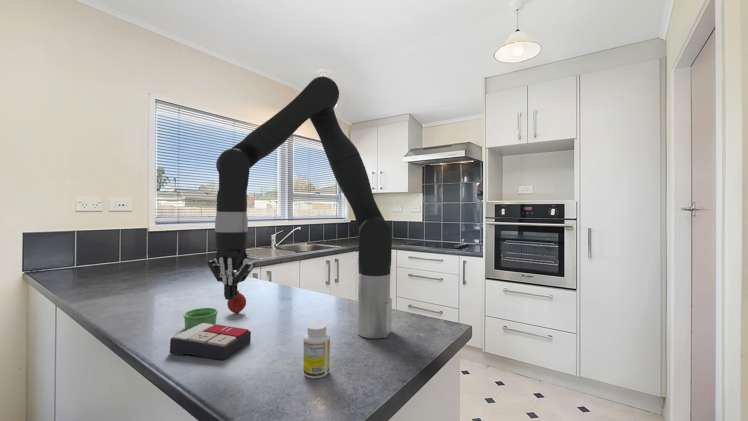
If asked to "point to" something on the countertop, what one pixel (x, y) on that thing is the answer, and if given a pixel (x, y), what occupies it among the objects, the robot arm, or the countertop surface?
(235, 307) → the onion
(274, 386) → the countertop surface
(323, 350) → the supplement bottle
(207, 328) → the calculator
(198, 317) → the ramekin
